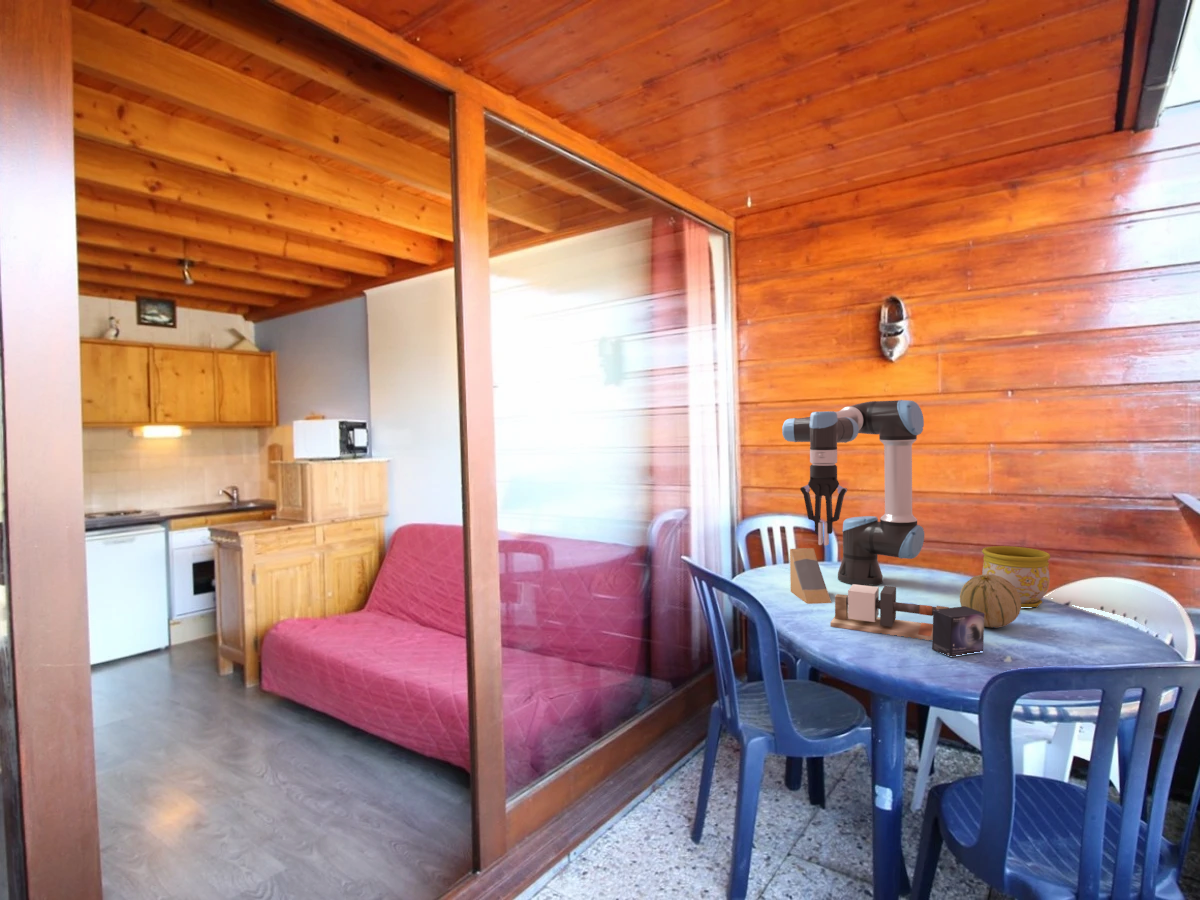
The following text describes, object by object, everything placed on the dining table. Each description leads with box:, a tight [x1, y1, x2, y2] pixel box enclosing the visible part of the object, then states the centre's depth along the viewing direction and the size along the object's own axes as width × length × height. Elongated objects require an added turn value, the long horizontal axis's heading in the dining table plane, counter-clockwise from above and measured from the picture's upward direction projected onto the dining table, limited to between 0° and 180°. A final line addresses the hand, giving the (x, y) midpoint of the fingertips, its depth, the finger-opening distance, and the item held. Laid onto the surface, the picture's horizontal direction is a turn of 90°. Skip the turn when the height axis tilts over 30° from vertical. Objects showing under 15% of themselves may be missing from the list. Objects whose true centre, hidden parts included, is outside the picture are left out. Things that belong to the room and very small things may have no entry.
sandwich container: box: [789, 547, 832, 605], centre depth 214 cm, size 9×15×15 cm, turn 4°
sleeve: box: [847, 584, 880, 622], centre depth 185 cm, size 7×8×8 cm
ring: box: [879, 585, 897, 627], centre depth 181 cm, size 3×9×9 cm, turn 149°
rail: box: [830, 593, 950, 641], centre depth 181 cm, size 30×11×8 cm, turn 59°
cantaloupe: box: [959, 574, 1021, 629], centre depth 182 cm, size 15×15×15 cm
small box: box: [931, 606, 985, 656], centre depth 163 cm, size 11×6×10 cm, turn 106°
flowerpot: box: [981, 545, 1051, 608], centre depth 203 cm, size 18×18×16 cm
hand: (823, 544), depth 189 cm, fingers closed
